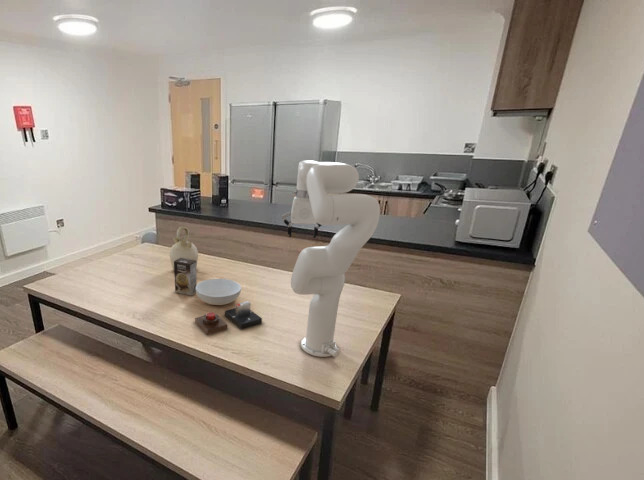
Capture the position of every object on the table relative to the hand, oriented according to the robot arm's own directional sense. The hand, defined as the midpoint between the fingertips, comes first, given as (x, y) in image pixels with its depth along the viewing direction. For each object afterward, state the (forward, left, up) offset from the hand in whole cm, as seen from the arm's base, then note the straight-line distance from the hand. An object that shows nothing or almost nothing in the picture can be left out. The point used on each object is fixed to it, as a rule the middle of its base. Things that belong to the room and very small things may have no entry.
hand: (302, 236), depth 153 cm
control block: (+5, +40, -33) cm, 52 cm away
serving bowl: (+24, +26, -33) cm, 48 cm away
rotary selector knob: (+3, +26, -30) cm, 40 cm away
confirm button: (+5, +40, -29) cm, 50 cm away
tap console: (+3, +26, -33) cm, 42 cm away
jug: (+66, +24, -33) cm, 78 cm away
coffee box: (+40, +35, -33) cm, 62 cm away
